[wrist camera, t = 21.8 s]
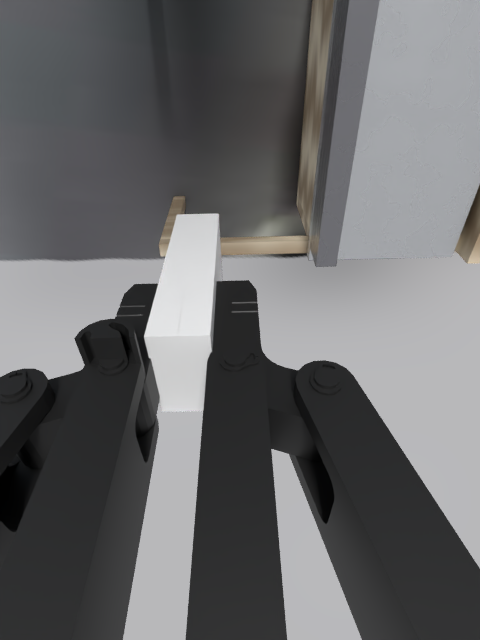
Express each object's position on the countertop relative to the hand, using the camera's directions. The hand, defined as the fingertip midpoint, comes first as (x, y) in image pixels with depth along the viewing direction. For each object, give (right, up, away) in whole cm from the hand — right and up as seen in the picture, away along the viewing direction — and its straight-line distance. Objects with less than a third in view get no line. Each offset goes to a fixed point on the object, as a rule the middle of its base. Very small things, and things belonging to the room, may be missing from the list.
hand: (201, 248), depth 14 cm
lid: (+13, +11, +13) cm, 22 cm away
